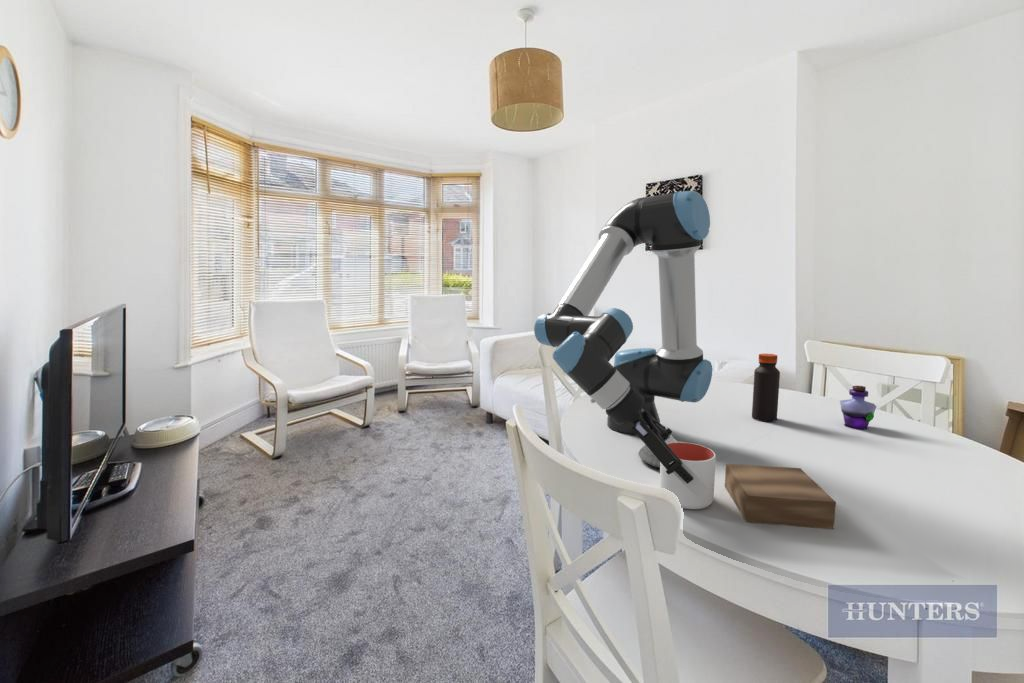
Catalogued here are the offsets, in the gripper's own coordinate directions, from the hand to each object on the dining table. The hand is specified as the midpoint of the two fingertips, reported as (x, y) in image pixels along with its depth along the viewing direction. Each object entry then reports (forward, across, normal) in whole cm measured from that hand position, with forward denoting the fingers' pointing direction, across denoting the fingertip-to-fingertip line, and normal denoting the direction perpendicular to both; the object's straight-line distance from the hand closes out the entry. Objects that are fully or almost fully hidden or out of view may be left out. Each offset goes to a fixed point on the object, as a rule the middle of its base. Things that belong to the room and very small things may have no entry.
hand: (695, 475), depth 87 cm
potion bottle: (+42, -54, +35) cm, 76 cm away
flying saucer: (+3, -19, -5) cm, 20 cm away
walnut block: (+14, 0, +7) cm, 15 cm away
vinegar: (+26, -57, +18) cm, 66 cm away
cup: (+3, 0, -5) cm, 6 cm away
